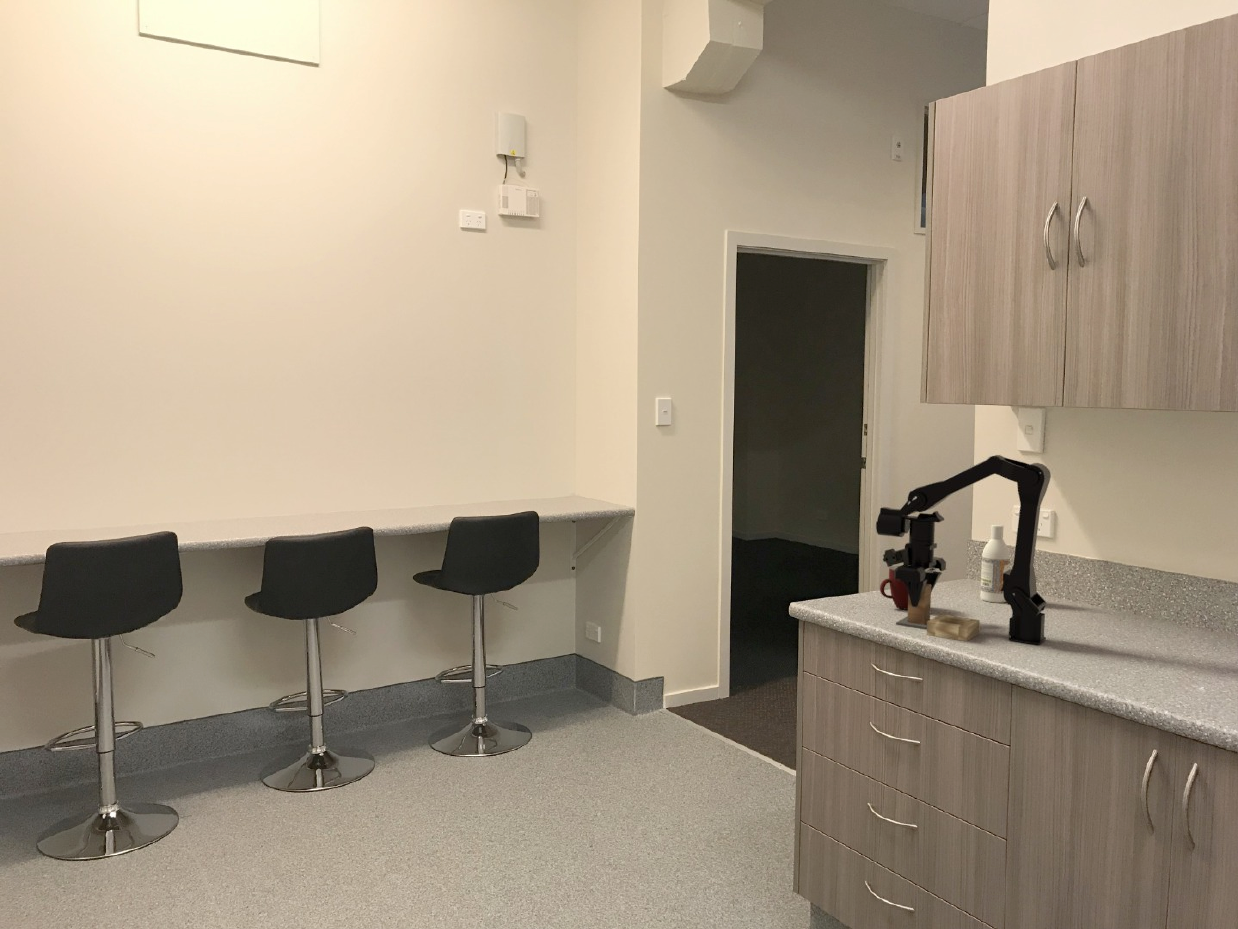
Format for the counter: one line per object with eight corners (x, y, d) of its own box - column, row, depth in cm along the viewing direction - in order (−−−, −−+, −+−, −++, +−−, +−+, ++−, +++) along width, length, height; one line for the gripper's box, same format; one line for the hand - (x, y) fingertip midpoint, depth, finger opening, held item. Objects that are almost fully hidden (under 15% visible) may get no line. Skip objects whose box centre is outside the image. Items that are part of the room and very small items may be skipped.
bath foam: (1001, 604, 254) (1004, 528, 253) (975, 600, 259) (978, 525, 258) (1012, 600, 259) (1016, 525, 257) (987, 596, 264) (990, 522, 262)
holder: (979, 633, 226) (979, 620, 226) (966, 641, 219) (967, 628, 219) (940, 626, 232) (940, 614, 231) (926, 634, 224) (927, 621, 224)
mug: (890, 612, 245) (891, 573, 244) (873, 605, 253) (874, 567, 252) (927, 610, 248) (928, 571, 247) (909, 603, 255) (910, 565, 254)
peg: (929, 621, 234) (931, 584, 234) (924, 624, 231) (925, 587, 230) (913, 618, 237) (914, 582, 236) (907, 622, 234) (908, 584, 233)
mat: (940, 623, 235) (940, 621, 235) (929, 629, 229) (929, 627, 228) (908, 617, 240) (908, 615, 240) (896, 624, 233) (896, 622, 233)
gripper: (903, 531, 244) (900, 592, 246) (873, 540, 230) (871, 606, 231) (947, 535, 238) (945, 598, 239) (920, 546, 223) (918, 613, 224)
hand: (919, 604), depth 234 cm, fingers open, 6 cm apart
